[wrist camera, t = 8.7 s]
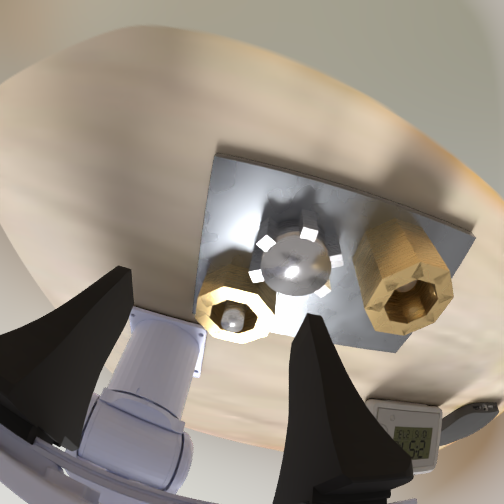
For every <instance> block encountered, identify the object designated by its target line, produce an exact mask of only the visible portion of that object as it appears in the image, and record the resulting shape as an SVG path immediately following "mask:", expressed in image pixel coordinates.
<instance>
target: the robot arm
mask: <svg viewBox="0 0 504 504" xmlns="http://www.w3.org/2000/svg"><path fill="white" fill-rule="evenodd" d="M133 305H134V299H133V287H132V274H131V269H128V268H125V267H121V266H117V267H116V268H114V269H113V270H111V271H110V272H108V273H107V274H106V275H104V276H103V277H102V278H100V279H99V280H98V281H96V282H95V283H94V284H92V285H91V286H89V287H88V288H87V289H85V290H84V291H82V292H81V293H80V294H78V295H77V296H75V297H74V298H72V299H71V300H69V301H68V302H66V303H65V304H63V305H62V306H60V307H59V308H57V309H55V310H54V311H52V312H50V313H48V314H47V315H45V316H43V317H41V318H39V319H38V320H35V321H33V322H31V323H29V324H27V325H25V326H23V327H20V328H18V329H15V330H13V331H10V332H7V333H5V334H2V335H0V481H1V482H2V483H3V484H4V485H5V486H7V487H8V488H9V489H10V490H11V491H13V492H14V493H15V494H16V495H18V496H19V497H20V498H22V499H23V500H24V501H25V502H27V503H28V504H217V503H211V502H206V501H201V500H196V499H192V498H187V497H183V496H179V495H176V493H177V491H178V489H179V488H180V487H181V486H182V484H183V483H184V481H185V479H186V477H187V475H188V472H189V469H190V466H191V462H192V457H193V443H192V441H191V439H190V436H189V434H188V433H186V432H183V429H184V426H185V422H183V421H181V417H182V413H183V409H184V406H185V402H186V399H187V395H188V391H189V388H190V384H191V381H192V377H197V378H198V377H200V374H201V368H202V361H203V355H204V349H205V342H206V336H207V330H206V329H205V328H204V327H203V326H202V325H198V324H194V323H190V322H187V321H183V320H179V319H176V318H172V317H169V316H165V315H162V314H158V313H155V312H151V311H148V310H145V309H141V308H138V307H135V306H133ZM128 318H129V319H130V327H131V334H132V335H131V337H130V339H129V341H128V343H127V345H126V347H125V350H124V352H123V354H122V356H121V358H120V360H119V362H118V364H117V367H116V369H115V371H114V373H113V375H112V378H111V380H110V382H109V384H108V387H107V388H104V389H103V392H102V394H101V396H99V395H98V394H96V393H93V391H94V388H95V386H96V383H97V380H98V378H99V375H100V372H101V370H102V368H103V366H104V364H105V362H106V360H107V358H108V356H109V355H110V353H111V351H112V349H113V347H114V345H115V343H116V342H117V340H118V338H119V336H120V334H121V332H122V331H123V329H124V327H125V325H126V323H127V320H128ZM52 444H55V445H57V446H58V447H60V446H62V447H64V448H66V451H65V452H63V451H62V450H60V449H58V448H56V447H54V446H52ZM61 467H62V468H64V469H65V470H66V472H67V474H68V475H69V476H70V477H68V476H66V475H65V474H64V472H63V469H62V468H61ZM413 477H414V476H413V465H412V459H411V456H410V455H409V454H408V453H407V452H406V451H404V450H403V449H402V448H401V447H400V446H399V445H398V444H397V443H396V442H395V441H394V440H393V439H392V437H391V436H390V435H389V434H388V433H387V432H386V431H385V430H384V428H383V427H382V426H381V425H380V423H379V422H378V421H377V419H376V418H375V417H374V416H373V414H372V413H371V412H370V410H369V409H368V407H367V406H366V404H365V403H364V402H363V400H362V398H361V397H360V395H359V394H358V392H357V390H356V388H355V387H354V385H353V383H352V381H351V379H350V378H349V376H348V374H347V372H346V370H345V368H344V366H343V364H342V362H341V359H340V357H339V355H338V353H337V351H336V348H335V346H334V344H333V341H332V339H331V337H330V334H329V332H328V329H327V327H326V324H325V322H324V320H323V317H322V316H320V315H315V314H310V313H307V314H306V316H305V318H304V320H303V322H302V324H301V326H300V328H299V330H298V332H297V334H296V336H295V338H294V340H293V342H292V345H291V353H290V361H289V417H288V427H287V435H286V442H285V448H284V455H283V460H282V465H281V470H280V475H279V480H278V484H277V488H276V492H275V497H274V500H273V504H387V498H390V496H391V489H394V488H396V487H399V486H401V485H404V484H406V483H408V482H410V481H411V480H412V479H413ZM389 504H417V499H415V498H414V499H410V500H404V501H398V502H393V503H389Z"/></svg>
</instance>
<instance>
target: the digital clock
mask: <svg viewBox="0 0 504 504" xmlns="http://www.w3.org/2000/svg"><path fill="white" fill-rule="evenodd" d="M365 404H366V406H367V407H368V409H369V410H370V412H371V413H372V414H373V416H374V417H375V418H376V419H377V421H378V422H379V423H380V425H381V426H382V427H383V428H384V430H385V431H386V432H387V433H388V434H389V435H390V436H391V437H392V439H393V440H394V441H395V442H396V443H397V444H398V445H399V446H400V447H401V448H402V449H403V450H404V451H406V452H407V453H408V454H409V455H410V456H411V459H412V465H413V475H415V474H422V473H429V472H431V471H432V470H433V469H434V468H435V466H436V463H437V457H438V450H439V443H440V435H441V425H442V410H441V409H440V408H439V407H436V406H427V404H418V403H409V402H400V401H393V400H385V401H383V400H376V399H370V400H367V401H366V402H365Z"/></svg>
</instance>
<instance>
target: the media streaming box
mask: <svg viewBox="0 0 504 504" xmlns="http://www.w3.org/2000/svg"><path fill="white" fill-rule="evenodd" d="M498 413H499V410H498V407H497V403H473V404H469V405H466V406H464V407H461V408H459V409H457V410H455V411H454V412H452V413H451V414H449V415H448V416H446V417H445V418H443V419H442V425H441V435H440V443H439V446H442V445H446V444H449V443H452V442H454V441H457V440H459V439H462V438H464V437H467V436H469V435H471V434H473V433H475V432H476V431H478V430H480V429H481V428H483V427H484V426H485V425H487V424H488V423H489V422H490V421H491V420H492V419H494V418H495V417H496V415H497V414H498Z"/></svg>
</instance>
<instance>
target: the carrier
mask: <svg viewBox="0 0 504 504" xmlns="http://www.w3.org/2000/svg"><path fill="white" fill-rule="evenodd" d="M393 218H397V219H400V220H403V221H406V222H409V223H411V224H414V225H417V226H420V227H422V228H423V230H424V231H425V233H426V234H427V236H428V237H429V239H430V240H431V242H432V243H433V245H434V246H435V248H436V250H437V251H438V253H439V254H440V256H441V258H442V259H443V261H444V262H445V264H446V266H447V267H448V269H449V271H450V276H451V278H452V277H453V275H454V274H455V272H456V271H457V269H458V267H459V266H460V264H461V263H462V261H463V259H464V258H465V256H466V254H467V253H468V251H469V249H470V247H471V246H472V244H473V242H474V240H475V239H476V237H475V236H474V235H473V234H472V232H469V231H467V230H465V229H463V228H460V227H458V226H455V225H453V224H451V223H448V222H446V221H443V220H441V219H438V218H436V217H433V216H431V215H428V214H426V213H423V212H420V211H418V210H415V209H412V208H410V207H407V206H404V205H402V204H399V203H396V202H393V201H390V200H387V199H385V198H382V197H379V196H376V195H373V194H370V193H367V192H364V191H361V190H358V189H354V188H351V187H348V186H345V185H342V184H338V183H335V182H332V181H328V180H325V179H321V178H318V177H315V176H311V175H307V174H304V173H300V172H296V171H293V170H289V169H285V168H281V167H277V166H273V165H269V164H265V163H261V162H257V161H253V160H248V159H244V158H239V157H235V156H230V155H226V154H221V153H216V155H215V156H214V160H213V166H212V172H211V178H210V184H209V191H208V197H207V203H206V210H205V217H204V224H203V231H202V238H201V245H200V253H199V261H198V269H197V277H196V285H195V294H194V303H193V312H192V313H193V314H196V315H195V319H196V320H197V321H198V322H199V323H200V324H201V325H202V326H203V327H204V328H205V329H206V330H207V331H208V332H209V333H210V334H211V335H212V336H213V337H216V338H220V339H224V340H228V341H233V342H237V343H246V342H249V341H252V340H255V339H258V338H261V337H265V336H267V334H268V332H274V333H278V334H283V335H288V336H293V337H295V336H296V334H297V332H298V330H299V328H300V326H301V324H302V322H303V320H304V318H305V316H306V314H307V313H310V314H315V315H320V316H322V317H323V320H324V322H325V324H326V327H327V329H328V332H329V334H330V337H331V339H332V341H333V344H337V345H343V346H350V347H356V348H363V349H369V350H376V351H384V352H391V353H396V352H397V351H398V349H399V348H400V347H401V346H402V345H403V343H404V342H405V341H406V340H407V339H408V337H409V336H410V335H411V334H412V332H411V333H409V334H407V335H404V336H403V335H396V334H390V333H384V332H378V331H375V330H374V327H373V325H372V323H371V321H370V319H369V317H368V315H367V313H366V311H365V309H364V305H363V300H362V296H361V292H360V288H359V284H358V280H357V276H356V272H355V268H354V264H353V260H352V258H353V256H354V254H355V252H356V250H357V248H358V246H359V243H360V241H361V239H362V237H363V235H364V233H365V232H366V231H368V230H370V229H372V228H374V227H376V226H378V225H381V224H383V223H385V222H387V221H389V220H391V219H393ZM416 282H417V279H416V280H414V281H412V282H410V283H408V284H405V285H403V286H401V287H399V288H396V290H397V291H398V292H407V291H409V290H411V289H412V288H413V287H414V286H415V284H416Z"/></svg>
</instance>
